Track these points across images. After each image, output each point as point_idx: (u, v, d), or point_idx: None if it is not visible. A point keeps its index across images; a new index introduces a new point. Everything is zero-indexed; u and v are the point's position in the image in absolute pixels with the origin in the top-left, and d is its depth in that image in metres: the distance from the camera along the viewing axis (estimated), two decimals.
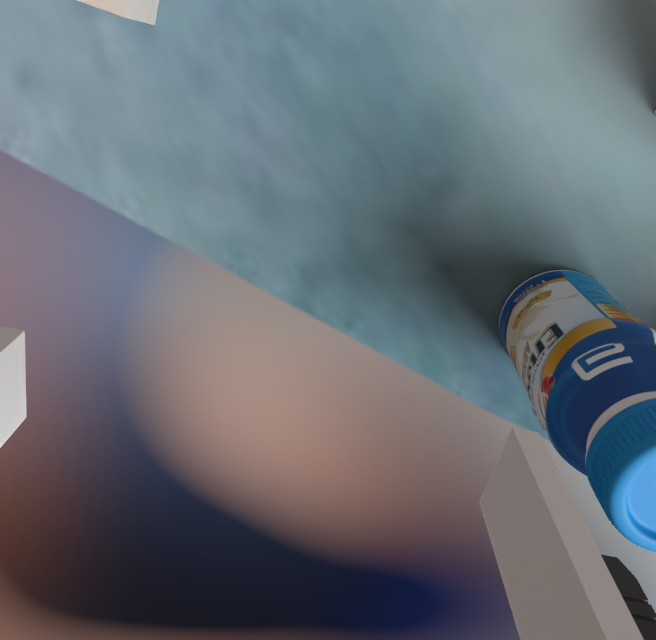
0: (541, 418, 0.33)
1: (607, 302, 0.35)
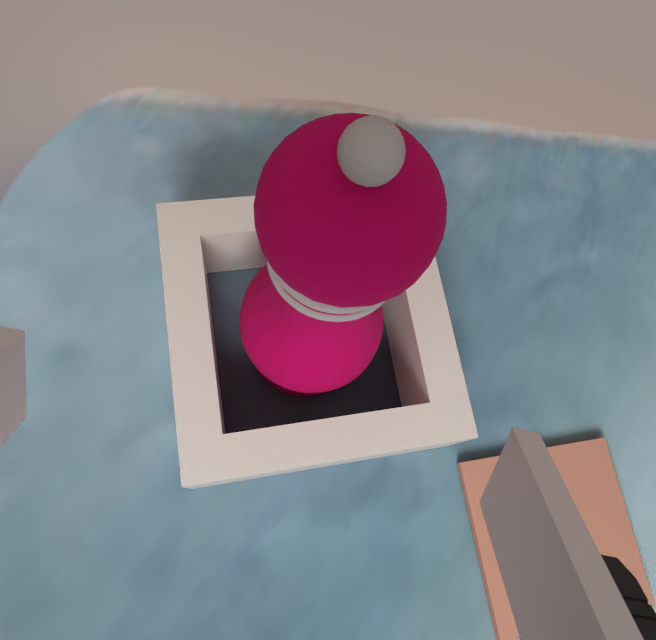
0: None
1: None
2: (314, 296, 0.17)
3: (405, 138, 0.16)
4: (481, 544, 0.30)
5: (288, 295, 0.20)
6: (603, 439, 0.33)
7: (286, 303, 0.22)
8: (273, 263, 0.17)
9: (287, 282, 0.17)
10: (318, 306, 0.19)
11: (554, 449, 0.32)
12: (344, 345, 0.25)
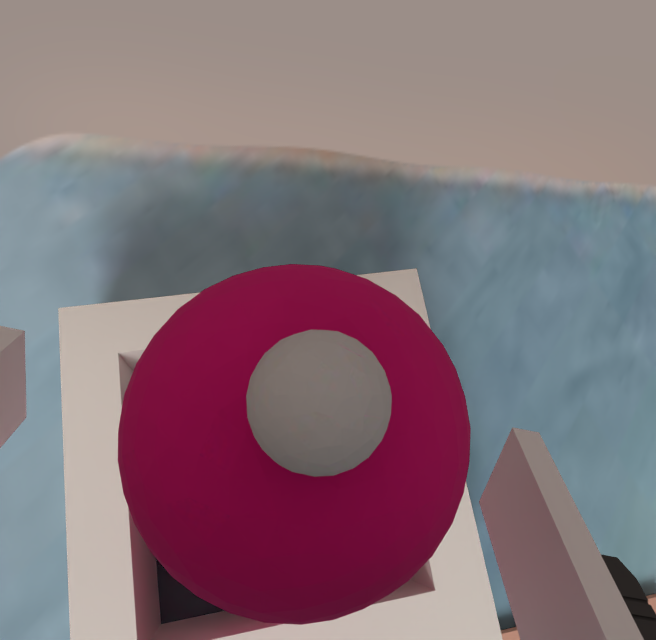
0: None
1: None
2: None
3: (394, 329, 0.09)
4: None
5: None
6: None
7: None
8: None
9: None
10: None
11: None
12: None
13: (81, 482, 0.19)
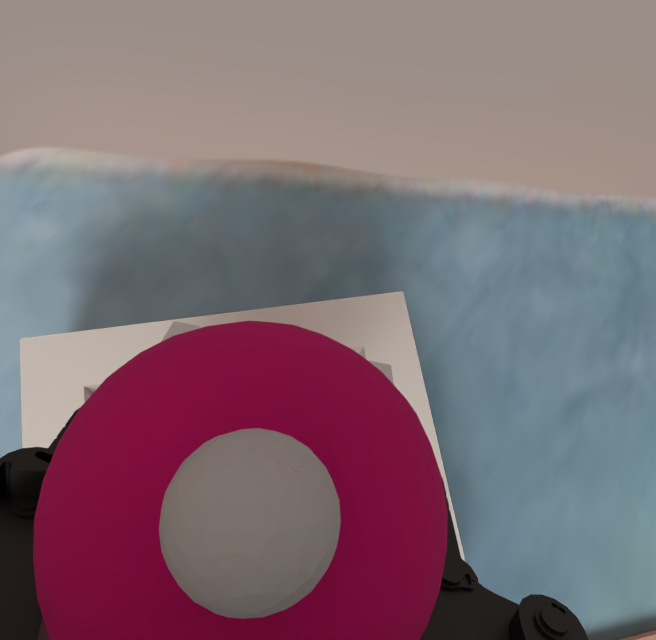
0: None
1: None
2: None
3: (354, 406, 0.07)
4: None
5: None
6: None
7: None
8: None
9: None
10: None
11: None
12: None
13: None
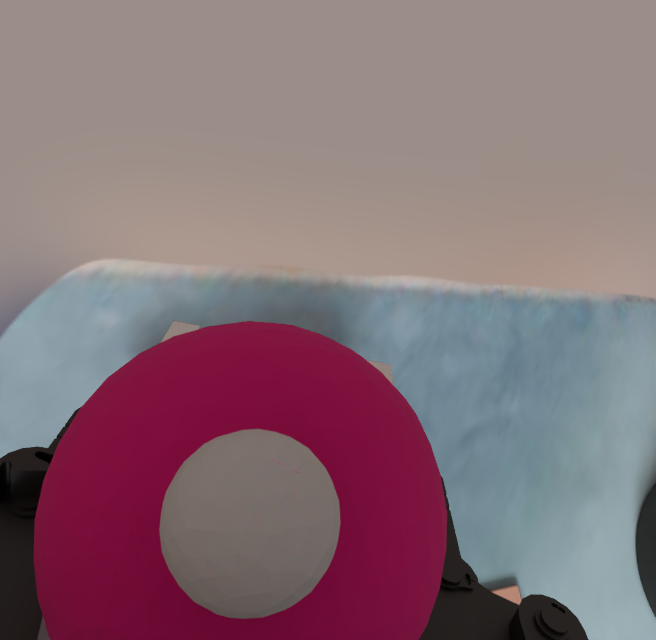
0: None
1: None
2: None
3: (354, 407, 0.07)
4: None
5: None
6: (516, 588, 0.37)
7: None
8: None
9: None
10: None
11: None
12: None
13: None
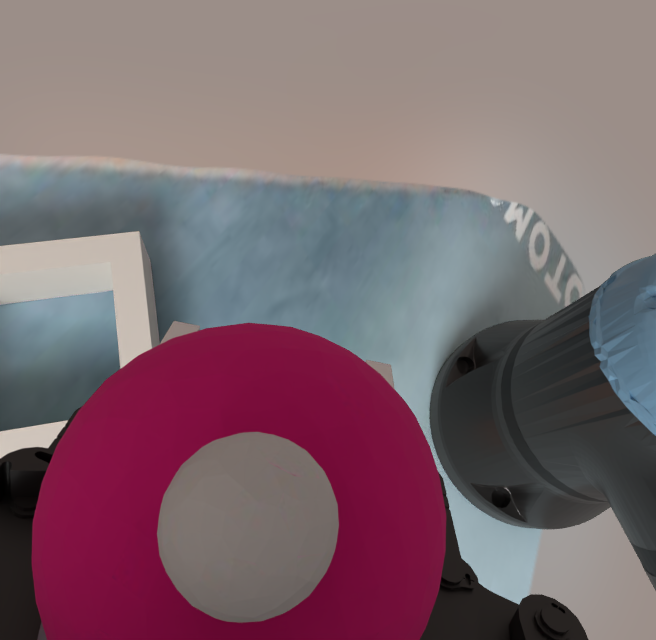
0: None
1: None
2: None
3: (352, 409, 0.07)
4: None
5: None
6: None
7: None
8: None
9: None
10: None
11: None
12: None
13: None
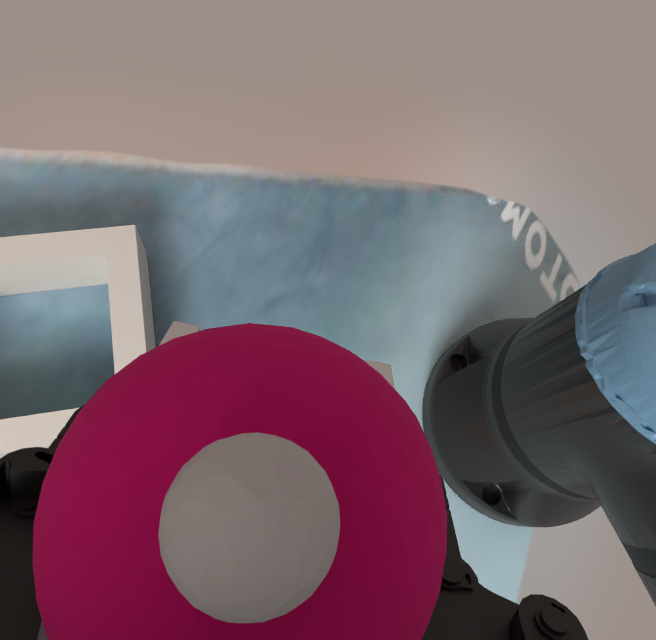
0: None
1: None
2: None
3: (353, 410, 0.07)
4: None
5: None
6: None
7: None
8: None
9: None
10: None
11: None
12: None
13: None
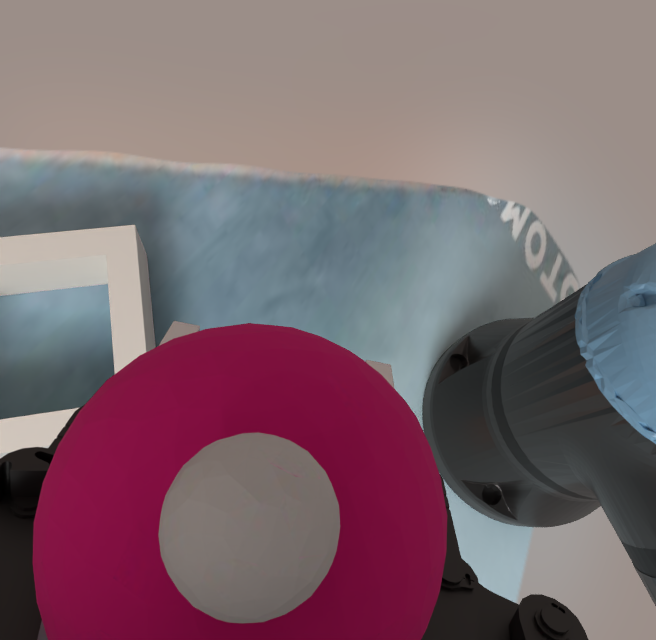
0: None
1: None
2: None
3: (353, 410, 0.07)
4: None
5: None
6: None
7: None
8: None
9: None
10: None
11: None
12: None
13: None
